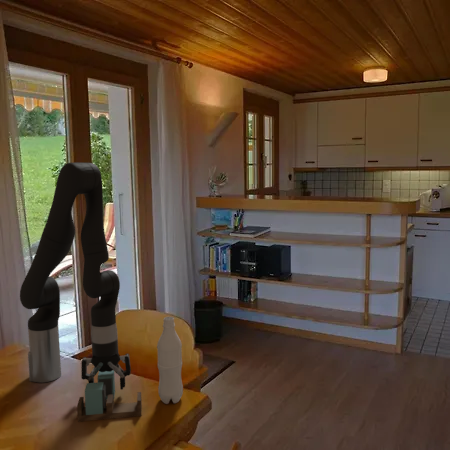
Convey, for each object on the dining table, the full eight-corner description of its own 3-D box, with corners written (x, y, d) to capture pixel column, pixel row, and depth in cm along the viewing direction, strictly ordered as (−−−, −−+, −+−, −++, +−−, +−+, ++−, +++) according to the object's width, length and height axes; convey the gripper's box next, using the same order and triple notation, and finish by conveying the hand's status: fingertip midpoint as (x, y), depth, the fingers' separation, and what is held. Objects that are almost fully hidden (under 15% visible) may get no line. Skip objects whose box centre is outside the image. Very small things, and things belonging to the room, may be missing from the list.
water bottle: (179, 407, 136) (176, 322, 133) (155, 404, 137) (152, 321, 134) (186, 395, 143) (184, 315, 140) (163, 393, 144) (161, 313, 141)
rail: (77, 421, 129) (77, 405, 128) (80, 412, 134) (79, 397, 133) (141, 415, 131) (140, 400, 131) (141, 406, 136) (141, 391, 136)
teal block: (100, 393, 145) (99, 371, 144) (115, 391, 145) (114, 370, 145) (98, 401, 140) (97, 378, 139) (113, 399, 140) (112, 377, 140)
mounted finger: (85, 415, 129) (84, 390, 128) (88, 406, 133) (86, 383, 133) (105, 413, 130) (103, 389, 129) (106, 405, 134) (105, 381, 133)
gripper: (129, 332, 145) (131, 382, 147) (81, 335, 143) (84, 386, 145) (128, 340, 138) (130, 393, 140) (77, 344, 136) (81, 398, 138)
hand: (107, 389), depth 143 cm, fingers open, 8 cm apart
